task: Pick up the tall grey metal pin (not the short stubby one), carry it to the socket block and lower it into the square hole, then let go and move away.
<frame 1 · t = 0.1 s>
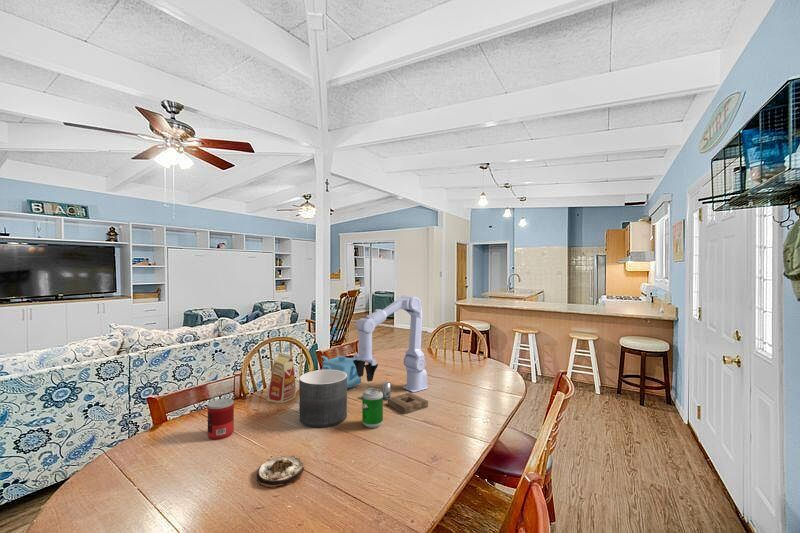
hand: (365, 378, 150), 10 cm above the table, tool pointing down, fingers open, 7 cm apart
planter: (323, 418, 134), on the table
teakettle: (340, 387, 168), on the table
soda can: (372, 425, 129), on the table
sushi roll: (281, 476, 97), on the table
canned food: (220, 435, 120), on the table
milk carton: (283, 399, 153), on the table
short pin: (370, 398, 154), on the table
long pin: (386, 399, 153), on the table
socket block: (407, 405, 146), on the table
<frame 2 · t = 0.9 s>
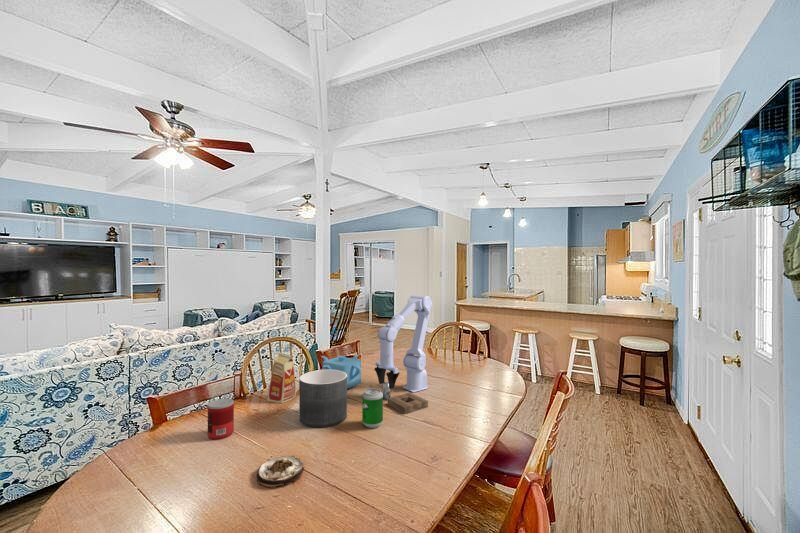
hand: (386, 386, 153), 6 cm above the table, tool pointing down, fingers open, 7 cm apart
nothing on the table moved.
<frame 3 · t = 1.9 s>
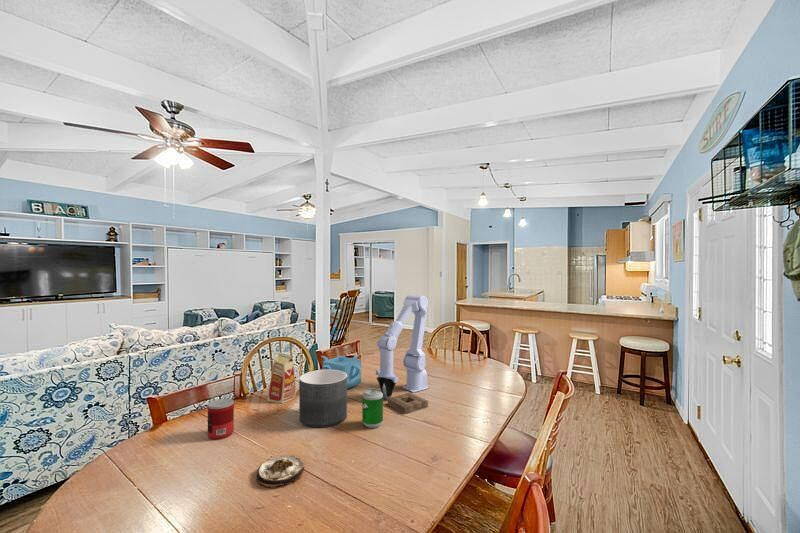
hand: (386, 394, 153), 2 cm above the table, tool pointing down, fingers closed on long pin, 3 cm apart
long pin: (386, 399, 153), on the table, touching gripper
everything else where it was.
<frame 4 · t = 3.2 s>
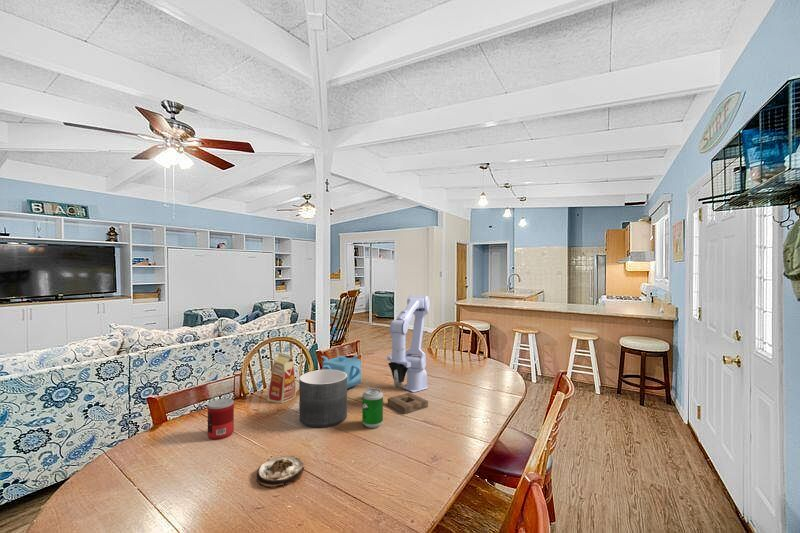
hand: (398, 380, 149), 9 cm above the table, tool pointing down, fingers closed on long pin, 3 cm apart
long pin: (398, 386, 149), point 7 cm above the table, touching gripper
everything else where it was.
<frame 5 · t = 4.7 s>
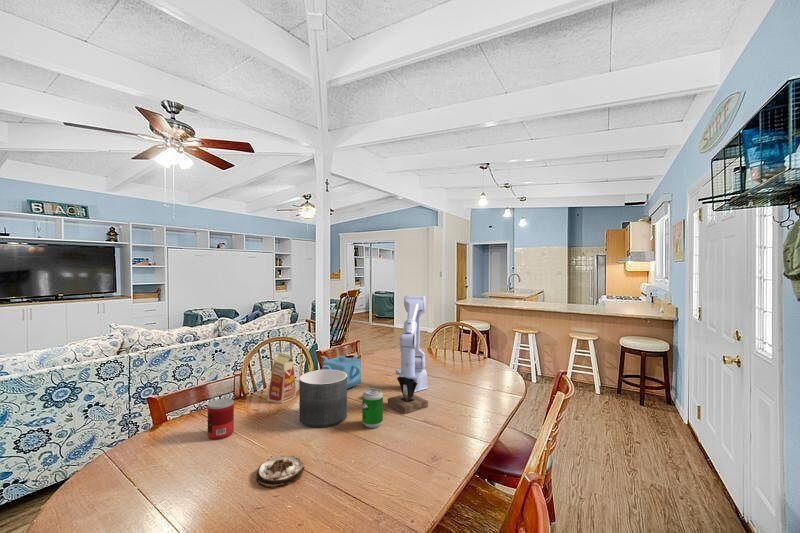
hand: (407, 395, 146), 4 cm above the table, tool pointing down, fingers closed on long pin, 3 cm apart
long pin: (407, 401, 146), point 2 cm above the table, touching gripper
everything else where it was.
when the fingers open (3 cm above the table, at t = 5.8 s): long pin stays where it is, resting in socket block.
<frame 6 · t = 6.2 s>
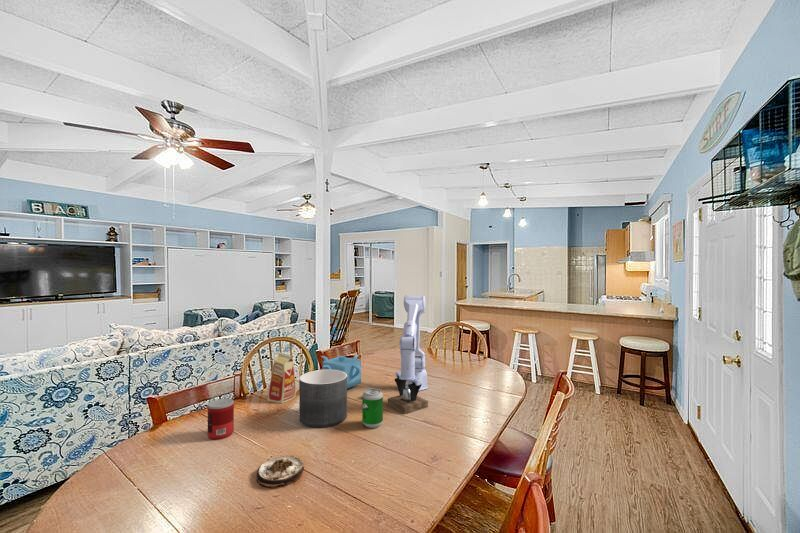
hand: (407, 397, 146), 3 cm above the table, tool pointing down, fingers open, 7 cm apart
long pin: (407, 405, 146), resting in socket block
everything else where it was.
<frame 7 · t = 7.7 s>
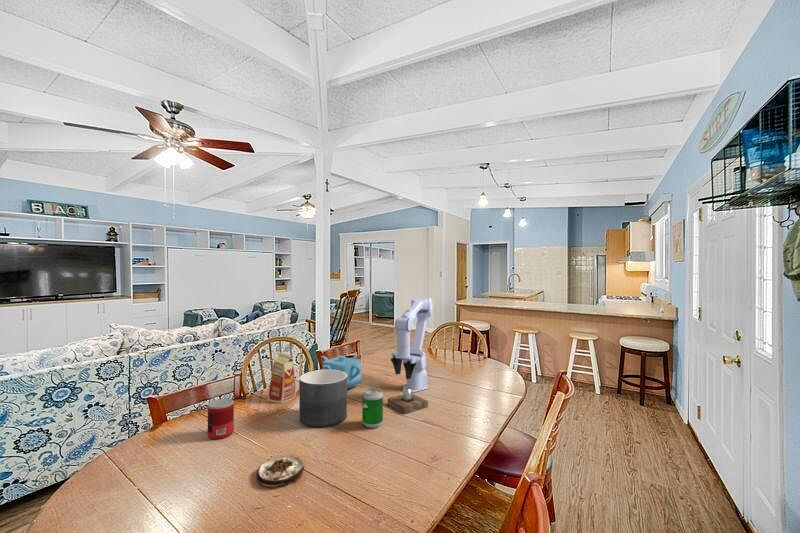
hand: (403, 376, 153), 10 cm above the table, tool pointing down, fingers open, 7 cm apart
nothing on the table moved.
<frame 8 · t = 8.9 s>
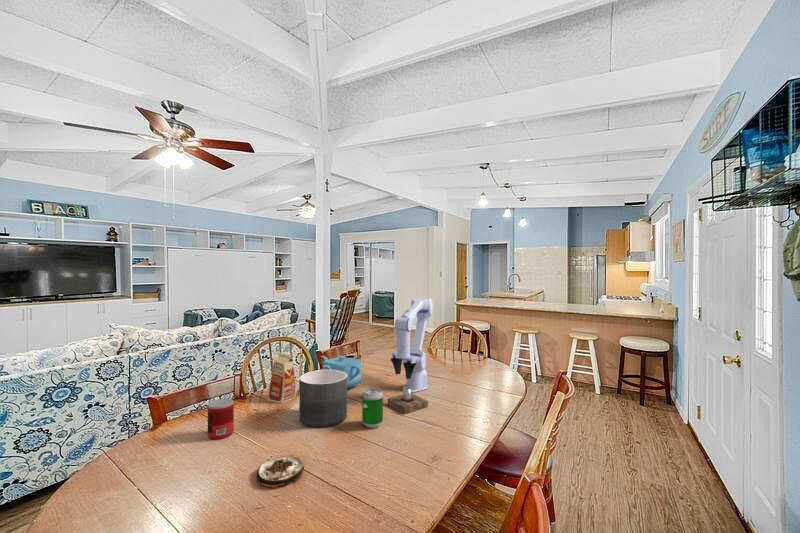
hand: (403, 376, 153), 10 cm above the table, tool pointing down, fingers open, 7 cm apart
nothing on the table moved.
at the end: long pin 0.2 cm off-centre on the socket block, point 0.0 cm above the socket block's base; long pin tilted 0°; the gripper is holding nothing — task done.
